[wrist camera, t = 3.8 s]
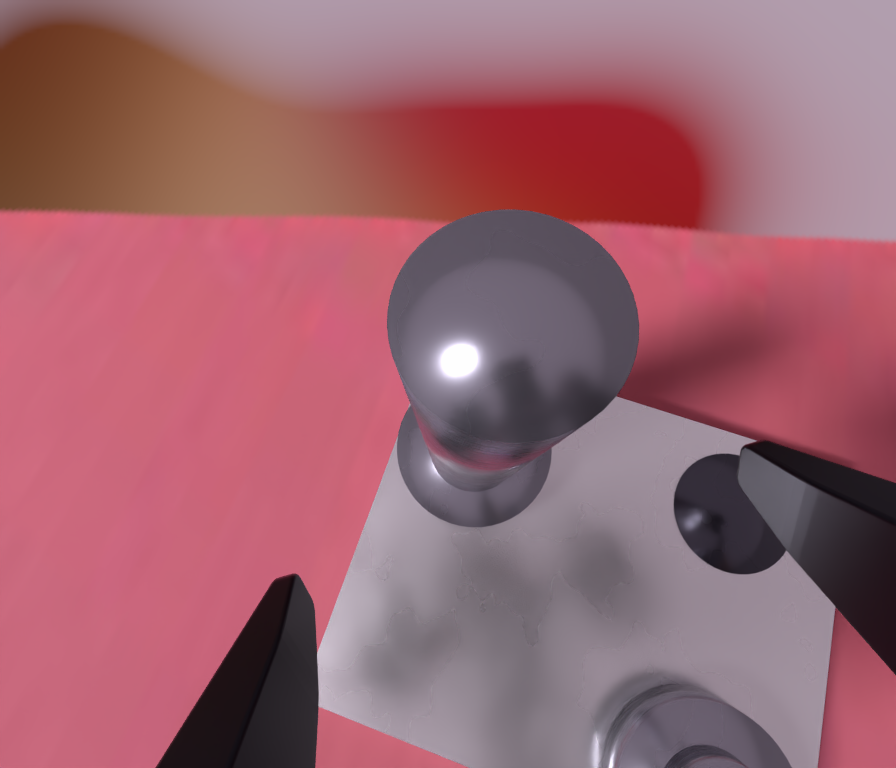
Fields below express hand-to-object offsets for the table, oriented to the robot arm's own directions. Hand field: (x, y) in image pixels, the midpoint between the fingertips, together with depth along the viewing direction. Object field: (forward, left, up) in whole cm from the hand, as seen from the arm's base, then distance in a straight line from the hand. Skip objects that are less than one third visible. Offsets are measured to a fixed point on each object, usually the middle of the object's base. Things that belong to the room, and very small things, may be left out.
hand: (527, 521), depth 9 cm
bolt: (+2, +2, -9) cm, 9 cm away
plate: (-1, -4, -10) cm, 11 cm away
